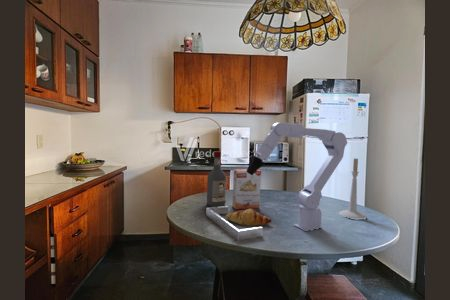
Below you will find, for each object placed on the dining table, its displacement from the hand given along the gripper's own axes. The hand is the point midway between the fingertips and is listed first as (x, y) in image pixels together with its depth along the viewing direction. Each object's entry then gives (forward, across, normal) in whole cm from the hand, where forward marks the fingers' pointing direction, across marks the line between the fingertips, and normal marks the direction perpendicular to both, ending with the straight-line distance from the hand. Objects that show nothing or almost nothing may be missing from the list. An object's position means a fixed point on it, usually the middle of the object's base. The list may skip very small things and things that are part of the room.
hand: (248, 173), depth 111 cm
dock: (+23, -7, +7) cm, 25 cm away
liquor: (+25, -39, -2) cm, 46 cm away
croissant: (+19, -11, +13) cm, 26 cm away
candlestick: (-12, -26, +58) cm, 65 cm away
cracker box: (+16, -35, +12) cm, 40 cm away
